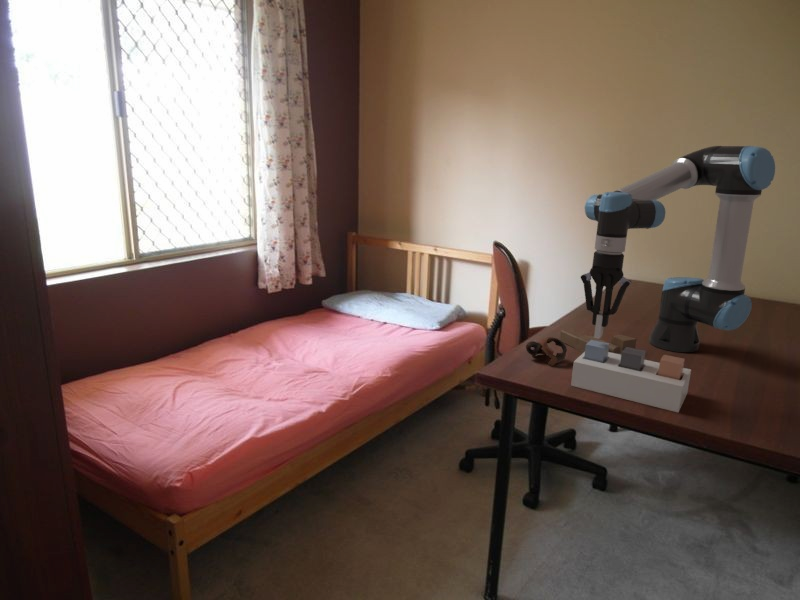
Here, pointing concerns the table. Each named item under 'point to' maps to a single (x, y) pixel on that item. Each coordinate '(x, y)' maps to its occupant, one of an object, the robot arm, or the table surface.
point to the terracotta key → (671, 367)
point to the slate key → (596, 351)
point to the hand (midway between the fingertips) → (598, 336)
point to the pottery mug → (547, 350)
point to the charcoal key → (632, 359)
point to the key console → (631, 382)
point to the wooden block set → (581, 340)
